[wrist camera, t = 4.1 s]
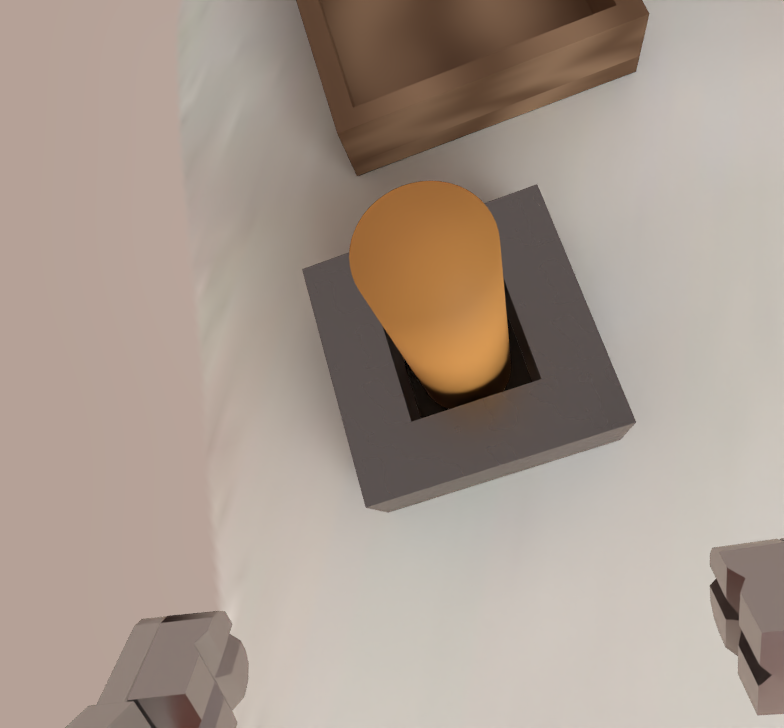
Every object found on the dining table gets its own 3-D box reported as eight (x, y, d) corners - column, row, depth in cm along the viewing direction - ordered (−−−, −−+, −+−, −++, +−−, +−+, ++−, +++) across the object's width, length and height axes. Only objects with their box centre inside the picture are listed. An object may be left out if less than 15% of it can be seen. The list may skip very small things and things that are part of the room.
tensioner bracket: (535, 230, 29) (537, 184, 26) (620, 439, 26) (635, 422, 22) (330, 303, 30) (302, 269, 27) (388, 512, 27) (365, 507, 24)
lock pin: (493, 311, 29) (471, 159, 17) (524, 394, 27) (522, 290, 16) (408, 340, 29) (333, 211, 18) (434, 423, 28) (371, 342, 17)
